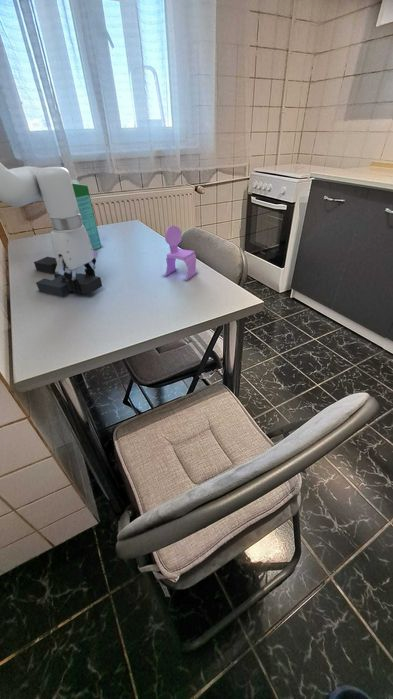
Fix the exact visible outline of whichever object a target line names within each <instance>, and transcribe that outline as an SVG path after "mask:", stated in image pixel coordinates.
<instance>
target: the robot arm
mask: <svg viewBox="0 0 393 699" xmlns="http://www.w3.org/2000/svg"><path fill="white" fill-rule="evenodd" d="M71 180H72V177H71V175H70V172H69V170H68V169H67V168H65V167H63V166H46V167H38V166H31V165H26V166H19V167H13V168H7V167H5V165H4V164H3V163H1V162H0V202H1V203H3V204H5V205H6V206H9V207H12V208H22V207H24V206H27V205H29V204H31V203H35V202H38V201H41V200H43V204H44V206H45V209H46V213H47V215H48V218H49V221H50V225H51V228H52V230H51V231H50V239H51V240H50V241H51V246H52V250H53V254H54V258H56V262H57V266H56V269H55V273H57V274H59V275H61V276H63V277H64V278H66V279H68V281H69V284H70V287H71V290H72V291H71V292H74V293H78V294H81V293H80V292H81V289H80V285H79V281H78V279H76V273H77V269H78V268H80V267H83V266H84V274H87V275H92V276H96V272H95V270H96V263H97V258H98V255H99V253H98V252H97V251H96V249H94V250H93V249H92V246H91V242H90V239H89V236H88V234H87V231H86V229H85V227H84V225H82V221H81V219H82V215H81V214H80V213H79V209H78V205H77V201H76V197H75V193H74V189H73V185H72V182H71ZM63 268H65V271H64V270H63ZM70 272H71V274H70Z"/></svg>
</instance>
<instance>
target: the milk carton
mask: <svg viewBox="0 0 393 699" xmlns="http://www.w3.org/2000/svg"><path fill="white" fill-rule="evenodd" d="M71 182H72V185H73V189H74V193H75V197H76V201H77V205H78V209H79V213H80V214H81V215H82V219H81V221H82V225H84V227H85V229H86V231H87V234H88V236H89V239H90V242H91V246H92V249H93V250H97V249H99V248H102V244H101V238H100V235H99V230H98V227H97V226H98V225H97V222H96V217H95V213H94V208H93V203H92V199H91V194H90V191H89V185H86V184H80V183H79V180H76V179H71Z"/></svg>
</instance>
